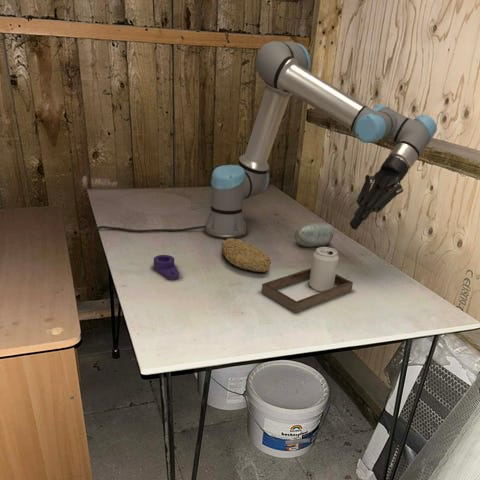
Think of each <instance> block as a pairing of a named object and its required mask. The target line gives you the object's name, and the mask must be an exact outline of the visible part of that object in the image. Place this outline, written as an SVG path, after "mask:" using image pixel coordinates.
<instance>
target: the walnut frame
mask: <svg viewBox="0 0 480 480" xmlns="http://www.w3.org/2000/svg"><path fill="white" fill-rule="evenodd" d="M310 272H311V267H309V268H307V269H304V270H301V271H297V272H295V273H291V274H288V275H285V276H282V277H278V278H276V279H273V280H269V281H267V282H264V283H261V294H262V295H264V296H266V297H268V299H269V298H270V299H271V300H272V301H274V302H276V303H277V304H279V305H281V306H282V307H283V308H286V309H287V310H289V311H291V312H292V313H294V314H297V313H299V312H302V311H305V310H307V309H309V308H312V307H314V306H317V305H320V304H322V303H325V302H328V301H330V300H332V299H335V298H337V297H340V296H343V295H345V294H348V293H351V292H352V291H353V286H354V281H351V280H349V279H347V278H345V277H343V276H341V275H339V274H337V273H336V276H335V282H334V287H333V288H331V289H328V290H326V291H323V292H322V291H319V292H318V293H315V294H312V295H310V296H307V297H304V298H302V299H299V300H296V299H293V298H291V297H290V296H288V295H286V294H285V293H283V292H281V291H280V289H283V288H287V287H288V286H292V285H295V284H298V283H301V282H304V281H307V280H309V278H310Z"/></svg>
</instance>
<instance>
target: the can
mask: <svg viewBox="0 0 480 480" xmlns="http://www.w3.org/2000/svg"><path fill="white" fill-rule="evenodd" d="M339 259H340V256H339V255H338V250H336V249H335V248H333V247H329V246H318V247H316V249H315V251H314V252H313V254H312V259H311V264H310V265H311V266H310V268H311V272H310V278H309V279H308V285H309V286H310V288H312V289H313V290H314V291H316V292H323V291H326V290H328V289H331V288H334V287H335V284H334V282H335V276H336V274H337V270H338V266H339Z"/></svg>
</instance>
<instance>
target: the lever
mask: <svg viewBox="0 0 480 480" xmlns="http://www.w3.org/2000/svg"><path fill="white" fill-rule="evenodd" d="M153 270H154V271H155V272H157V273H158V274H160V275H161V276H162V277H163V278H165V279H167V280H169V281H176V280H179V279H180V272H179V270H178V268H177V266H176V264H175V257H173V255H170V254H160V255H159V254H158V255H156V256H154V257H153Z"/></svg>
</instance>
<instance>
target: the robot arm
mask: <svg viewBox="0 0 480 480" xmlns="http://www.w3.org/2000/svg"><path fill="white" fill-rule="evenodd" d="M255 58H256V59H255V69H256V72H257V74H258V76H259V77H260V79H261V80H262V83H263V84H264V87H265V90H264V92H263V95H262V99H261V102H260V105H259V108H258V112H257V114H256V118H255V121H254V124H253V128H252V131H251V134H250V137H249V140H248V143H247V146H246V148H245V149H246V150H245V153H244V154H242V155H240V156H239V157H238V161H237V164H227V165H220V166H217V167H216V168H214V169H213V171H212V173H211V179H210V184H211V185H210V186H211V187H210V212H209V214H208V218H207V220H206V222H205V225H200V226H199V225H198V226H192V227H184V228H152V229H151V228H150V229H133V228H126V227H125V228H124V227H118V226H109V225H108V226H107V225H99V226H96V227H95V228H94V229H93V231H94V232H97V230H100V229H108V230H117V231H118V230H119V231H124V232H125V231H126V232H130V233H131V232H133V233H149V232H150V233H151V232H184V231H190V230H197V229H198V230H199V229H204V231H205V233H206V234H207V235H208V236H210V237H213V238H216V239H223V240H227V239H230V238H234V239H239V238H242V237H244V236H245V235H246V233H247V227H246V221H245V219H244V215H243V205H244V201H245V200H247V199H250V198H253V197H256V196H258V195H260V194H261V193H263V192H264V191H265V190H266V189H267V187H268V185H269V183H270V174H269V169H270V166H269V163H268V159H269V157H270V154H271V151H272V149H273V146H274V143H275V140H276V137H277V134H278V131H279V128H280V125H281V122H282V120H283V118H284V114H285V111H286V109H287V105H288V102H289V100H290V97H291V96H294V97H296V98H297V99H299V100H301V101H303V102H304V103H306V104H307V105H309V106H310V107H313V108H314V109H315V110H318V112H321V113H323V114H324V115H326V116H327V117H329V118H330V119H332V120H333V121H335V122H337V123H339V124H340V125H342V126H343V127H345V128H346V129H348V130H350V131H351V132H353V133H354V134H355V136H356V138H357V140H358V141H360V142H362V143H365V144H371V143H372V144H373V143H377V142H378V141H380V140H383V139H388V140H391V141H392V142H394V143H396V145H395V146H394V147H393V148H392V150H391V152H390V153H389V154H388V156H387V157H386V158H385V159H384V161H383V163H382V164H380V165H381V166H380V168H379V170H378V171H377V172H375V174H374V175H369V174H366V175H365V177H364V183H363V185H362V187H361V190H360V192H359V194H358V195H357V196H358V197H357V198H356V203H357V205H358V207H357V208H356V210H355V211H354V213H353V215H354V216H353V218H352V219H350V222H349V223H348V224H349V226H350V227H351V229H352V230H355V231H357V230H358V228H359V226H360V225H361V224H362V223H363V221H366V220H367V219H368V218H369V217H370V215H371V214H372V213H374V212H375V213H376V214H377V213H380V211H382V210H383V209H384V208H385V207H386V206H387V205H388V204H389V203H391V201H392V200H394V198H396V197H397V196H398V195H400V194H401V193H403V192H404V188H403V185H402V184H401V181H403V179H404V178H405V177H406V176H407V174H408V173H409V171H410V170H411V168H412V167H413V166H414V164H415V163H416V161H417V160H418V159H419V157H420V156H421V154H422V153H423V152H424V151H425V149H426V148H427V146H429V144H430V143H431V141H432V139H433V138H434V136H435V135H436V133H437V131H438V126H437V123H436V121H435V120H434V119H433V118H432V117H430V116H428V115H424V114H420V115H417V116H416V117H415V118H414V119H412V118H411V117H407V116H406V115H404V114H401V112H398V111H396V110H394V109H392V108H390V106H385V105H383V104H382V103H381V104H380V103H379V104H376V105H375V106H374V107H373V108H371V107H370V106H367V105H366V104H365V103H363V102H361V101H359V100H358V99H356V98H354V97H353V96H351V95H349V94H347V93H346V92H344V91H342V90H341V89H340V88H338V87H337V86H334V85H333V84H331V83H329V82H328V81H326V80H324V79H323V78H321V77H319V76H318V75H316V74H314V73H312V72H311V71H310V70H311V62H312V61H311V58H310V53H309V51H308V49H307V48H306V47H305V46H304V45H303V44H301V43H299V42H295V41H292V40H291V41H278V40H272V41H269V42H267V43H265V44H264V45H263V46H261V47H260V49H259V51H258V52H257V54H256V57H255Z"/></svg>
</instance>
